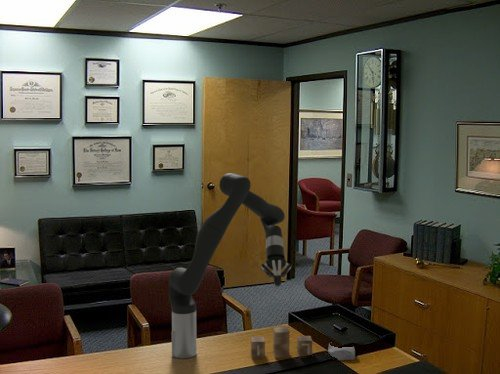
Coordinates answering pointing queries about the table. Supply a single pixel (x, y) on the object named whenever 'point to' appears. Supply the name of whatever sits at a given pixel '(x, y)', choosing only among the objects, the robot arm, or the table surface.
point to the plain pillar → (281, 342)
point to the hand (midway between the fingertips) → (277, 285)
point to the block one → (257, 347)
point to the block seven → (304, 345)
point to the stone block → (342, 352)
